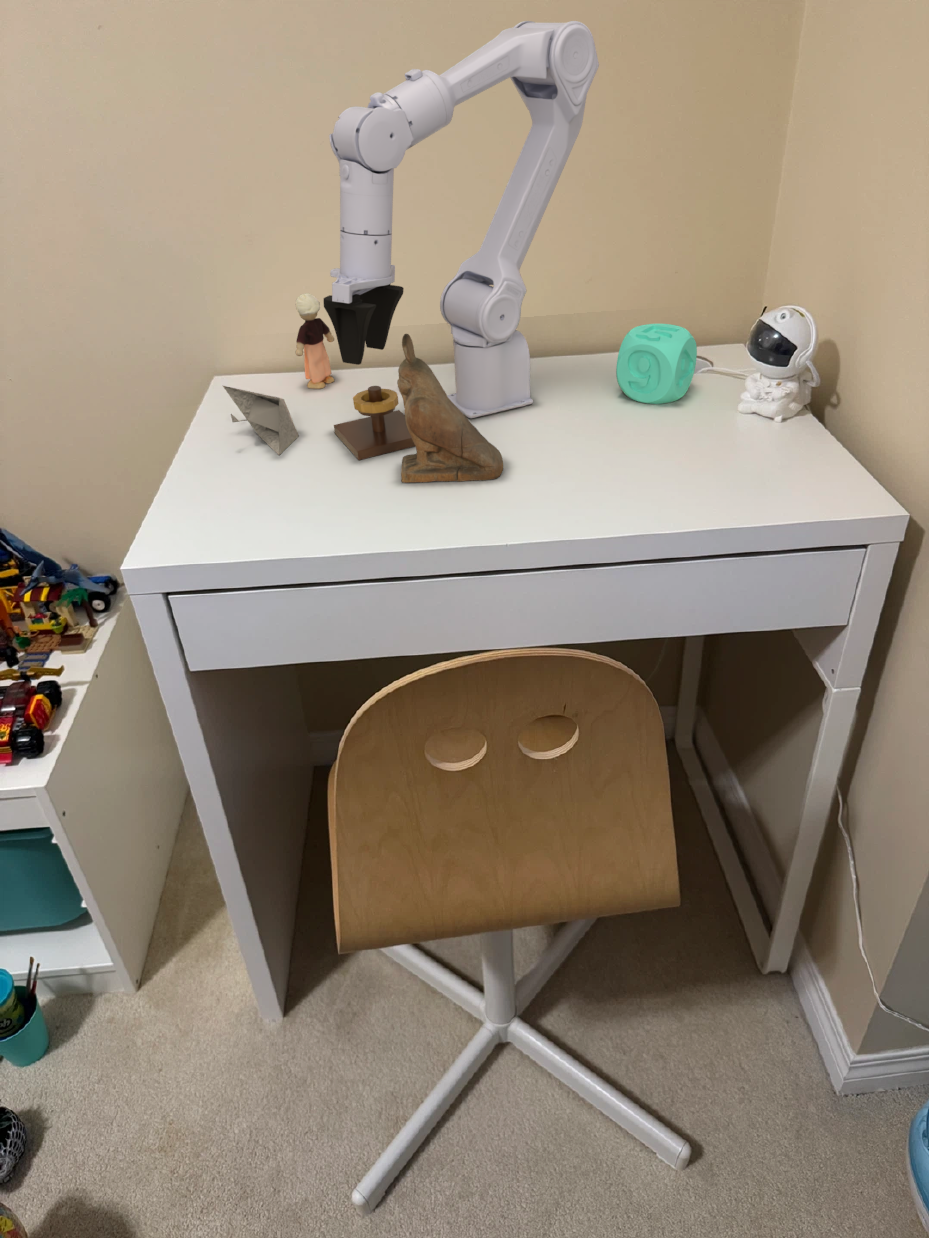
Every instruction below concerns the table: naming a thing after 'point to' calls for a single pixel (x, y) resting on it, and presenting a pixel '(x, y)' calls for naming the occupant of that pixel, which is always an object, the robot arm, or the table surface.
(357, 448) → the peg stand
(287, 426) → the paper boat
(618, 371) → the decorative dice
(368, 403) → the brass ring
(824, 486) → the table surface
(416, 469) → the worn brown figurine
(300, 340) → the grandmother figurine
